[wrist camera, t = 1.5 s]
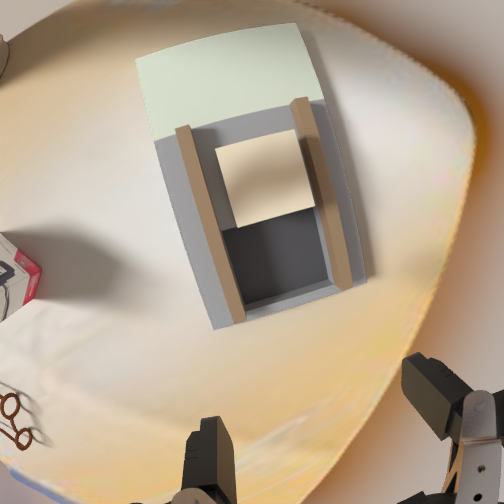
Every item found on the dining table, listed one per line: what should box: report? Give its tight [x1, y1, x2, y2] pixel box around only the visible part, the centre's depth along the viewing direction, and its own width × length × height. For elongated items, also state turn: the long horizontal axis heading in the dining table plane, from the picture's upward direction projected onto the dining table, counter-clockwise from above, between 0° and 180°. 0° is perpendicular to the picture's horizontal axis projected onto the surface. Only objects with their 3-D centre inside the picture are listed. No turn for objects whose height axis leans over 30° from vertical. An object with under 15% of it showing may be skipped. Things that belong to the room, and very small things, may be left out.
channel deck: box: [135, 22, 367, 330], centre depth 25 cm, size 28×16×4 cm, turn 16°
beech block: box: [215, 129, 315, 228], centre depth 23 cm, size 6×6×4 cm
